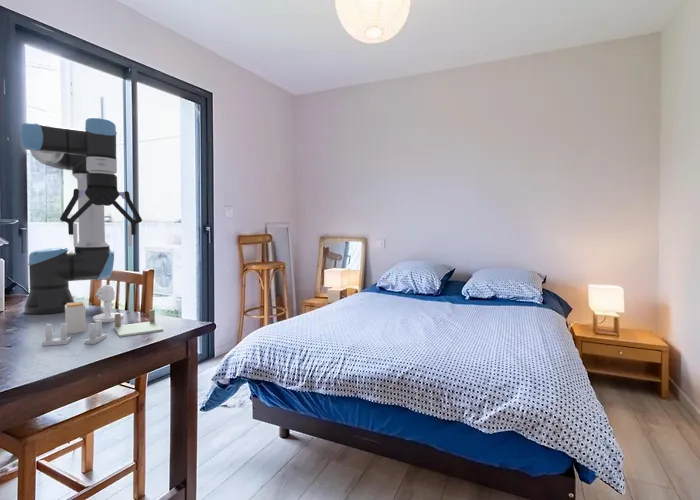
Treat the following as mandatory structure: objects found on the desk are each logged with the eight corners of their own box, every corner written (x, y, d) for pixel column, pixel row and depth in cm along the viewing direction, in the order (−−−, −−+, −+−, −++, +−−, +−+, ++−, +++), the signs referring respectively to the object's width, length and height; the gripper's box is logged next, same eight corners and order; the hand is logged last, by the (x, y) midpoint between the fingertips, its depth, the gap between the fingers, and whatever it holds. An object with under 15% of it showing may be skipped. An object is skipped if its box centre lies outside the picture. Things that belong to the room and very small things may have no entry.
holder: (114, 327, 127) (113, 313, 126) (154, 322, 134) (154, 309, 134) (119, 337, 117) (119, 321, 117) (162, 330, 124) (162, 316, 124)
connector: (65, 329, 123) (64, 302, 123) (84, 327, 126) (83, 301, 126) (66, 333, 119) (65, 305, 119) (85, 331, 122) (85, 304, 122)
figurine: (109, 323, 132) (108, 287, 131) (86, 321, 134) (85, 286, 133) (129, 316, 141) (128, 283, 140) (107, 314, 143) (107, 282, 142)
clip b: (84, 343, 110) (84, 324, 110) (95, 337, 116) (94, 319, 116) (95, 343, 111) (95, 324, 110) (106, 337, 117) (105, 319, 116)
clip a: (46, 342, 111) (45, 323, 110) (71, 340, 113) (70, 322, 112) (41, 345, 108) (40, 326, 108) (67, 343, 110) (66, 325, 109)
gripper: (46, 168, 105) (49, 247, 106) (150, 175, 118) (151, 246, 119) (50, 171, 111) (52, 245, 113) (148, 177, 124) (149, 244, 126)
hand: (103, 246), depth 116 cm, fingers open, 13 cm apart
